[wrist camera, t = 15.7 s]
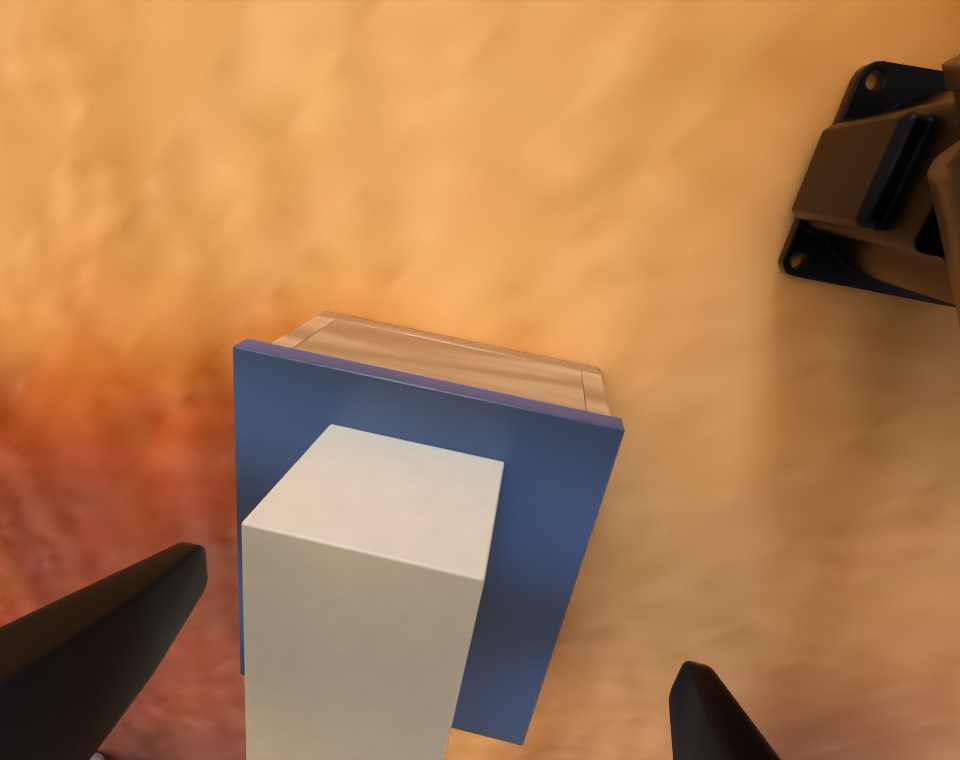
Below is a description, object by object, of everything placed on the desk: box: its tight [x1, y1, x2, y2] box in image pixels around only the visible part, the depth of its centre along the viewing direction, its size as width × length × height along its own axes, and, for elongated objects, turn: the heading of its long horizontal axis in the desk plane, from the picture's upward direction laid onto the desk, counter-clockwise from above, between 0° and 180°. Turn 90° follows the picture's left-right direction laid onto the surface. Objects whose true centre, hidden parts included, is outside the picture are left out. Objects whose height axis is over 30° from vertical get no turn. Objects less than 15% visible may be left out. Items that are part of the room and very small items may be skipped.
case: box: [242, 424, 504, 760], centre depth 15 cm, size 11×5×5 cm, turn 170°
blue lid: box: [233, 339, 625, 745], centre depth 17 cm, size 14×12×1 cm
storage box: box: [270, 311, 611, 416], centre depth 21 cm, size 14×12×6 cm
